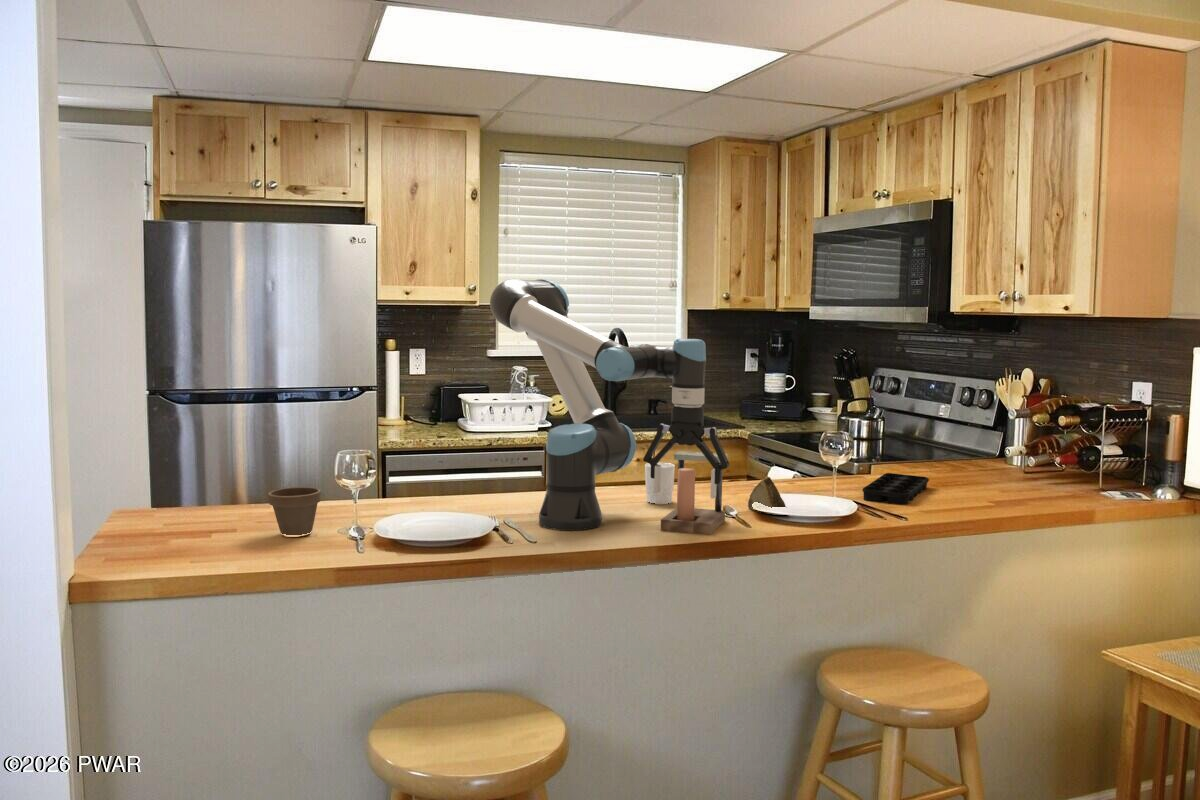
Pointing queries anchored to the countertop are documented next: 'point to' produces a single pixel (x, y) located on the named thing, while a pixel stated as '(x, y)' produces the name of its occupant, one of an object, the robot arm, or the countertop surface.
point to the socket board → (702, 523)
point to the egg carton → (895, 488)
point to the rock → (766, 494)
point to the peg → (686, 494)
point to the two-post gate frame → (700, 457)
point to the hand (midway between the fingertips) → (684, 494)
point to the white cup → (665, 484)
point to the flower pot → (295, 508)
